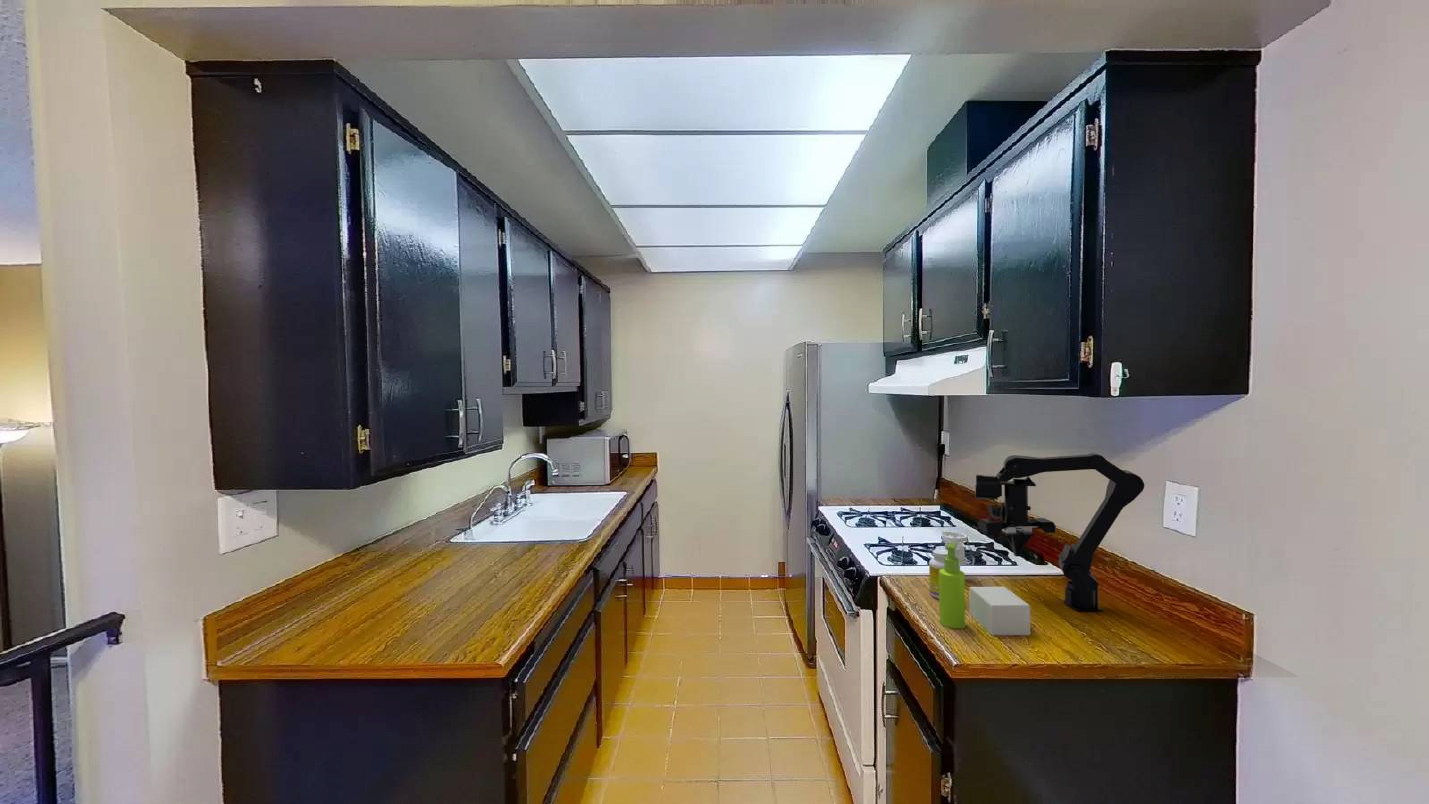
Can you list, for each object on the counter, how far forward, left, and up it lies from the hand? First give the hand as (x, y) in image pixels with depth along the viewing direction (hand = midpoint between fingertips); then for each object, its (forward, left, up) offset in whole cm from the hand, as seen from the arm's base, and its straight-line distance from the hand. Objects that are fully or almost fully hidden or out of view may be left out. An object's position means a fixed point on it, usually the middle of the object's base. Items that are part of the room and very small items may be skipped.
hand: (1016, 556), depth 146 cm
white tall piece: (+11, -15, -12) cm, 22 cm away
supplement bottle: (+20, -2, -12) cm, 24 cm away
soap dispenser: (+24, +15, -12) cm, 31 cm away
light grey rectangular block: (+13, +16, -12) cm, 24 cm away
